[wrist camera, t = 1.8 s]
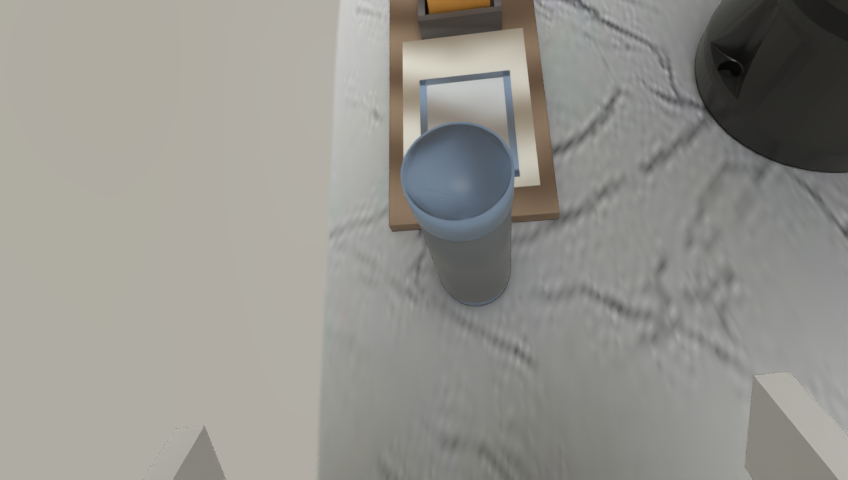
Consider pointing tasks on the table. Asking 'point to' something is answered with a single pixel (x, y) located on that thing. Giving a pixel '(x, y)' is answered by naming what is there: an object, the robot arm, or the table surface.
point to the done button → (455, 5)
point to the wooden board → (471, 93)
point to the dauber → (463, 206)
